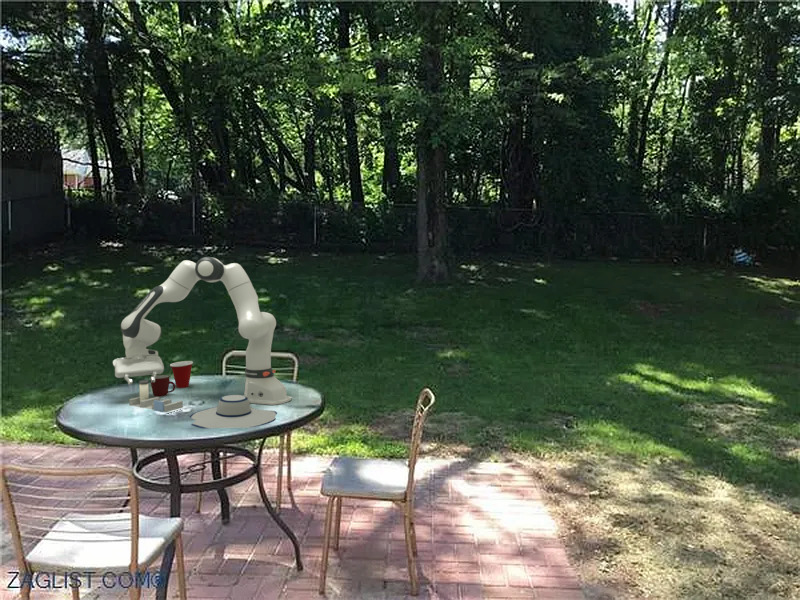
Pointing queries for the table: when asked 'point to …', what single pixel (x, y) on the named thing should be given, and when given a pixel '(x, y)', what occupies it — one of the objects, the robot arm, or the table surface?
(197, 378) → the table surface
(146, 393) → the grey-capped cream cylinder
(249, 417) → the sun hat
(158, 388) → the mug
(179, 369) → the plastic cup
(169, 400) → the stepped cream block
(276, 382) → the robot arm
